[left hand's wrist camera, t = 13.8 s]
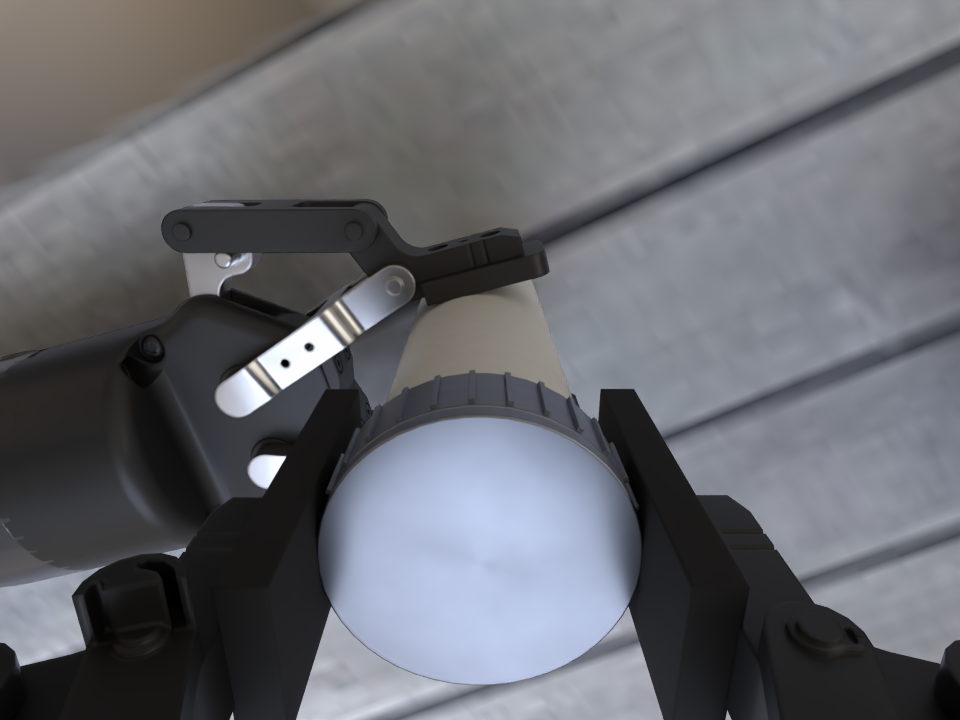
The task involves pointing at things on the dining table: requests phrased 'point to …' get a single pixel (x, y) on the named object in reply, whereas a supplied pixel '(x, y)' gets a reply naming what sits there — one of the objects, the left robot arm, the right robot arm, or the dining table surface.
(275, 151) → the dining table surface
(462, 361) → the jar
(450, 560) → the lid
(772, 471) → the dining table surface
